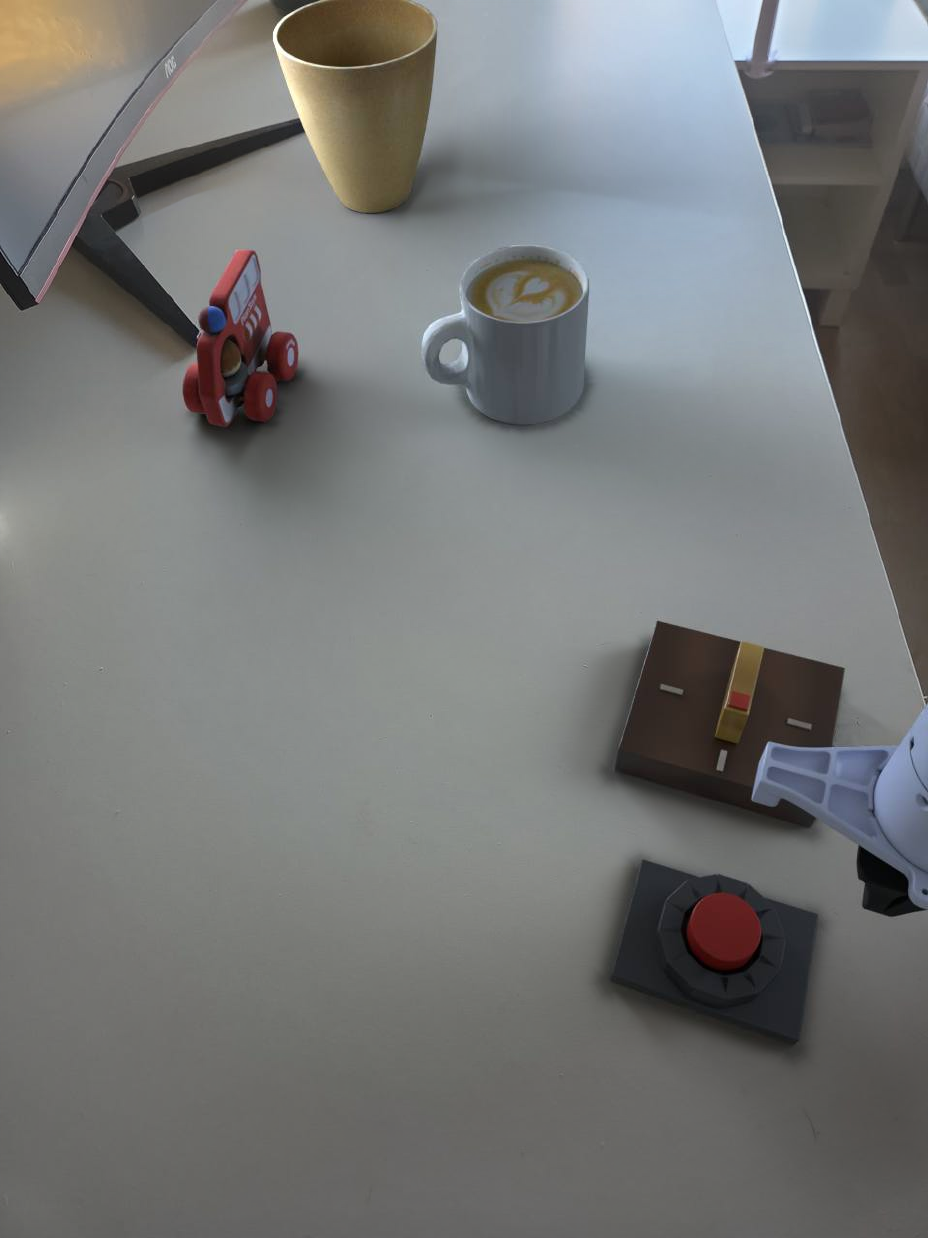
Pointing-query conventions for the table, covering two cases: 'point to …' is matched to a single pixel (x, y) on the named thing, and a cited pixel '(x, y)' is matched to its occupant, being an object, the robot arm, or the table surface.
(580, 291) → the coffee mug
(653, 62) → the table surface
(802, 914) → the dark grey button mount
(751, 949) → the bell button
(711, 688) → the plate
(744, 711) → the yellow rectangular block
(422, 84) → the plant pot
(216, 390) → the toy fire truck
